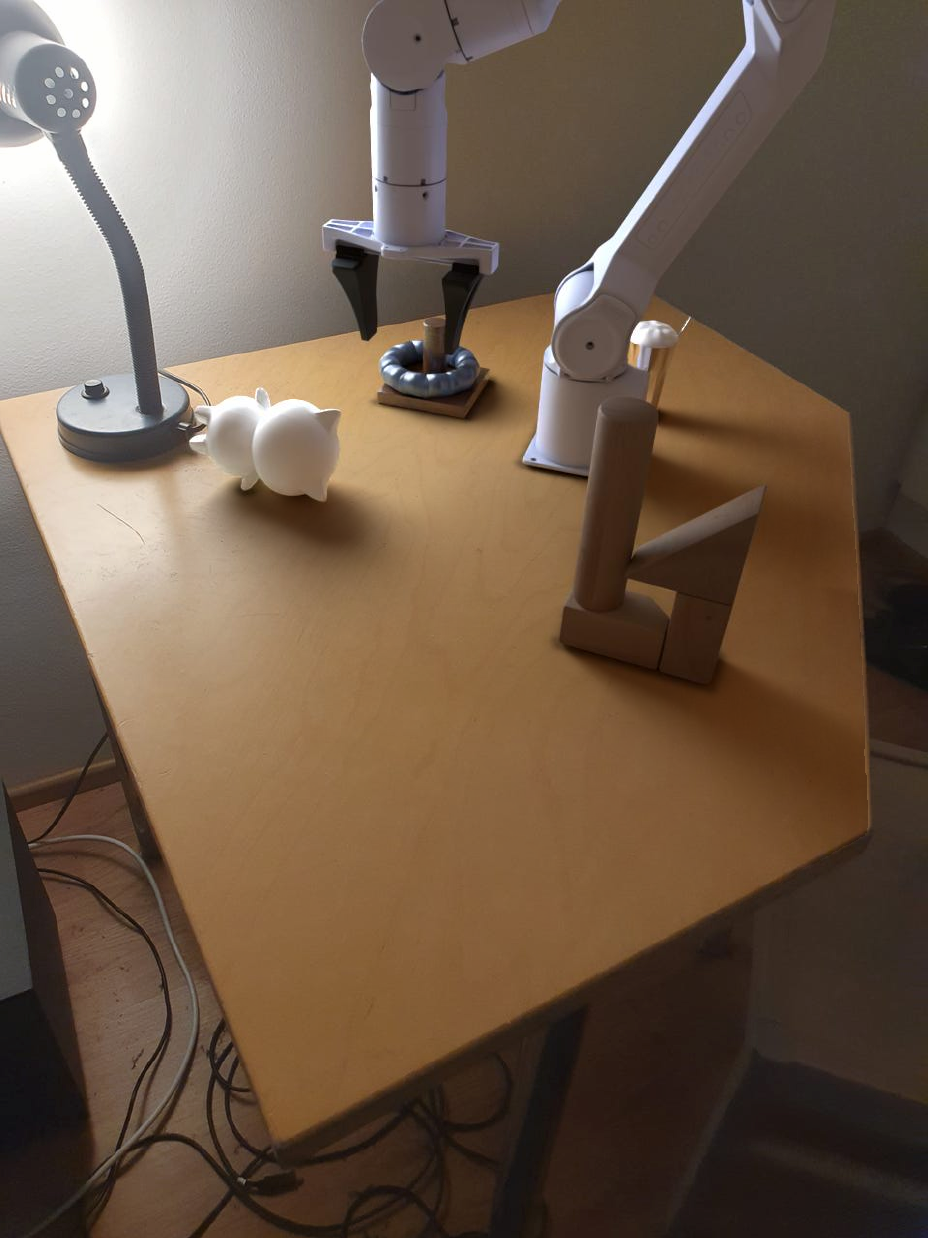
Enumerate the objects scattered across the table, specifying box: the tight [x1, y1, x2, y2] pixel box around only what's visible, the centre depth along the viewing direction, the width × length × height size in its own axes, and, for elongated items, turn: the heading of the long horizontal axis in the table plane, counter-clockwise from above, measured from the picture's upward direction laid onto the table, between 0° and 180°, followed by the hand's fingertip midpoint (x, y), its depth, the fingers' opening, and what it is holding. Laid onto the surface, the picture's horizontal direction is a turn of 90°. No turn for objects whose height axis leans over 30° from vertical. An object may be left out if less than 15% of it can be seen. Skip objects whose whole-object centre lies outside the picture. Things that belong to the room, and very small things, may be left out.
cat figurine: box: [188, 387, 342, 503], centre depth 78 cm, size 9×11×12 cm
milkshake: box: [627, 315, 691, 410], centre depth 88 cm, size 4×5×10 cm
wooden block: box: [558, 397, 768, 685], centre depth 58 cm, size 4×11×18 cm, turn 68°
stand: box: [376, 317, 491, 419], centre depth 91 cm, size 9×9×7 cm
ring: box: [377, 339, 481, 398], centre depth 92 cm, size 10×10×2 cm
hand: (410, 343), depth 79 cm, fingers open, 7 cm apart
